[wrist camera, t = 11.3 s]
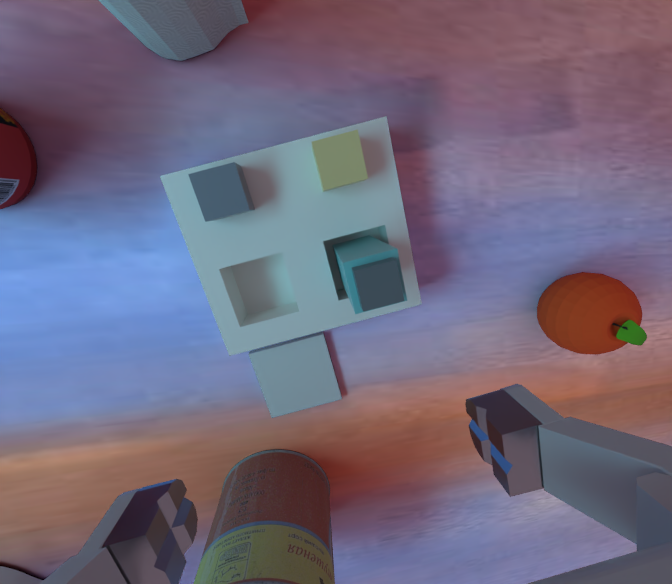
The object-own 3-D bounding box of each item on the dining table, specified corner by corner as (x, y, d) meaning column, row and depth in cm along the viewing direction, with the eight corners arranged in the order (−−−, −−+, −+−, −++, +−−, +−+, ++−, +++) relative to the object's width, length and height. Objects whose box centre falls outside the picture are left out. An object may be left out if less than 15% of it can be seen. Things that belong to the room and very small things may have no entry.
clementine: (611, 289, 30) (700, 314, 23) (568, 349, 31) (639, 389, 25) (548, 252, 29) (623, 267, 22) (505, 317, 30) (563, 349, 23)
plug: (376, 271, 27) (412, 305, 18) (341, 280, 27) (357, 320, 18) (369, 235, 26) (402, 250, 17) (332, 244, 26) (344, 266, 17)
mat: (341, 395, 31) (341, 399, 30) (272, 414, 31) (271, 417, 30) (323, 331, 29) (323, 334, 28) (249, 351, 29) (248, 354, 28)
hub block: (408, 292, 29) (430, 312, 23) (239, 338, 28) (222, 368, 23) (376, 128, 25) (393, 107, 19) (180, 180, 25) (144, 172, 19)
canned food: (315, 539, 35) (317, 700, 24) (213, 526, 34) (163, 691, 22) (341, 458, 33) (358, 595, 21) (233, 440, 31) (188, 577, 20)
